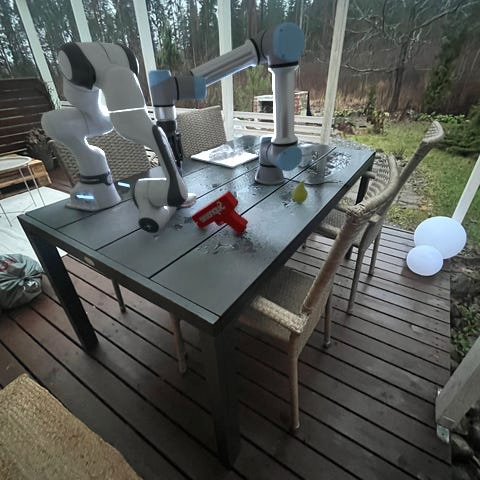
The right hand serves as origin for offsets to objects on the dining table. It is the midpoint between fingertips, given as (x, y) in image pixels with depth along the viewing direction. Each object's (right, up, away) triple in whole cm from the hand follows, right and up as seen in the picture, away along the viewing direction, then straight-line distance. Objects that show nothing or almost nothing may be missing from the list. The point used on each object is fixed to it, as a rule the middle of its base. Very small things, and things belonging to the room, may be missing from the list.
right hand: (174, 179), depth 112 cm
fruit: (+54, -8, +9) cm, 55 cm away
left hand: (0, -5, +4) cm, 6 cm away
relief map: (+17, +29, +68) cm, 76 cm away
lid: (0, +3, -2) cm, 4 cm away
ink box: (+66, +21, +54) cm, 88 cm away
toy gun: (+20, -21, -10) cm, 31 cm away
